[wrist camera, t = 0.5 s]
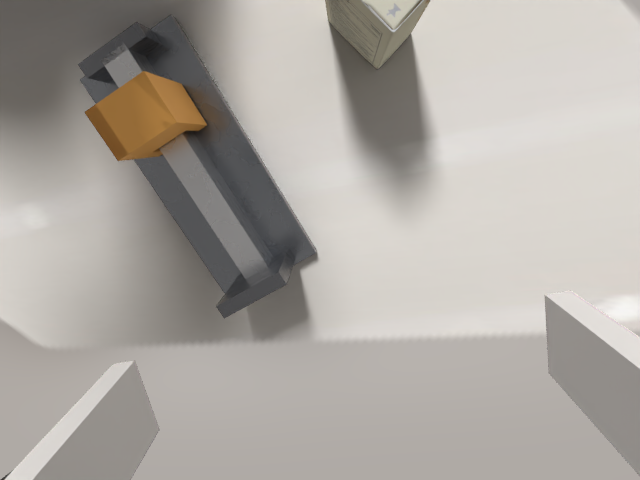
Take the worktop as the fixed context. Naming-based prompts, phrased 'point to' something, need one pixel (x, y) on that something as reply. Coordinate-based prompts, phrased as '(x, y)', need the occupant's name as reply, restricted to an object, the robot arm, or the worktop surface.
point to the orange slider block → (144, 116)
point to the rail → (225, 159)
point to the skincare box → (375, 24)
